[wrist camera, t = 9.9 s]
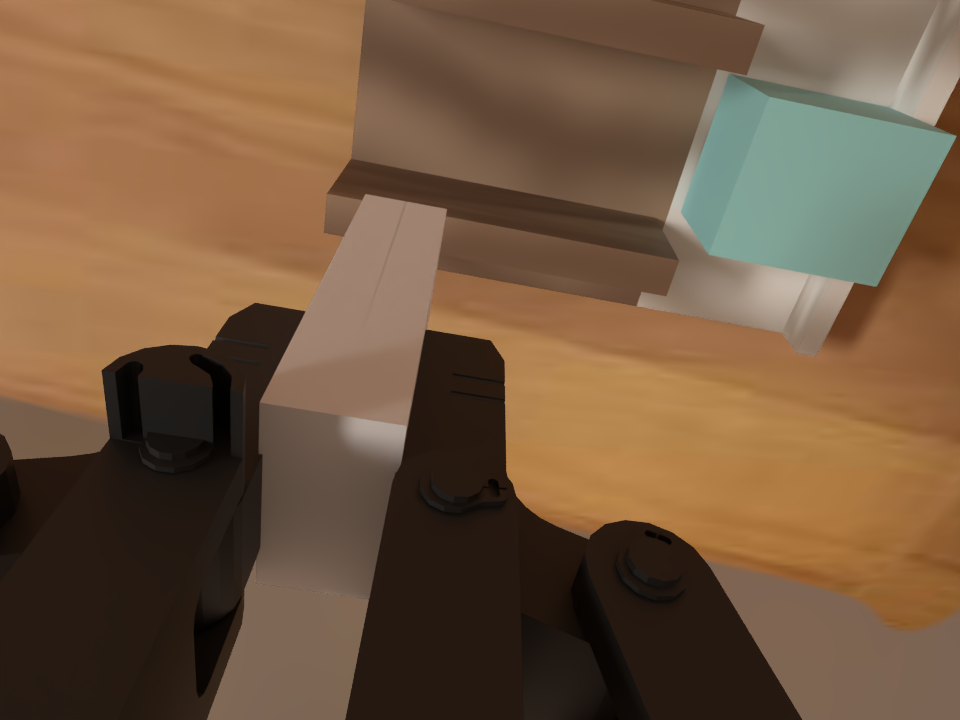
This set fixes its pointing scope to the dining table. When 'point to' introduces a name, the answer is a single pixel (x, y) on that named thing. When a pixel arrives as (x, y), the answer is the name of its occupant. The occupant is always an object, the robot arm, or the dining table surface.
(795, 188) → the block
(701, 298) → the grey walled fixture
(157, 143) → the dining table surface
